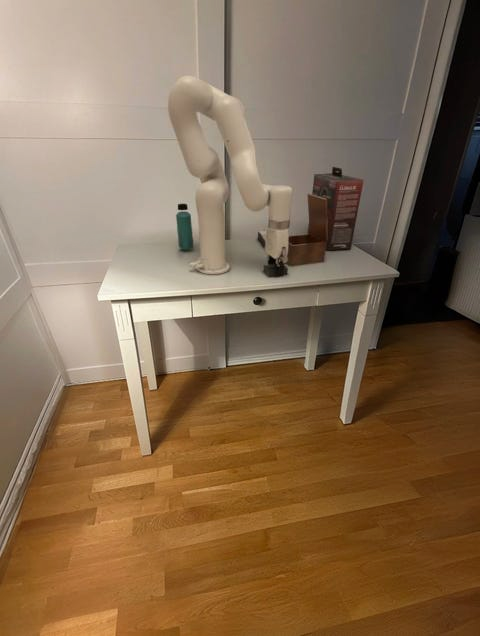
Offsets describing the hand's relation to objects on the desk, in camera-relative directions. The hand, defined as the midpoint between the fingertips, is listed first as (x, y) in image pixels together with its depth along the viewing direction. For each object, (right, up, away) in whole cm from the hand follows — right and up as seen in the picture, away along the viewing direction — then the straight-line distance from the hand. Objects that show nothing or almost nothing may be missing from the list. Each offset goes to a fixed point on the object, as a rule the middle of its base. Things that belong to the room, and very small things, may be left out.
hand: (275, 271), depth 118 cm
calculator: (+2, +18, +32) cm, 37 cm away
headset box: (+29, +19, +34) cm, 49 cm away
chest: (+12, +8, +14) cm, 20 cm away
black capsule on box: (0, -1, 0) cm, 1 cm away
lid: (+18, +23, +7) cm, 30 cm away
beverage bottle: (-37, +12, +22) cm, 45 cm away
